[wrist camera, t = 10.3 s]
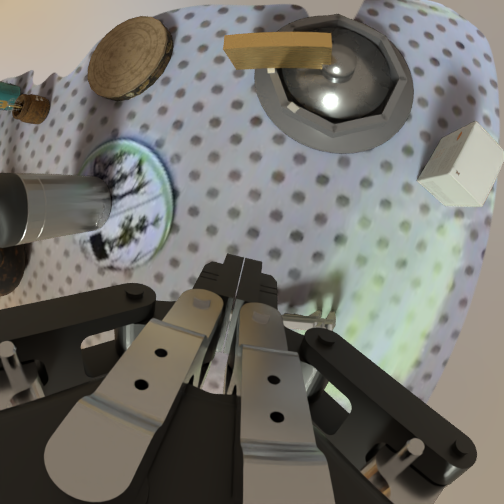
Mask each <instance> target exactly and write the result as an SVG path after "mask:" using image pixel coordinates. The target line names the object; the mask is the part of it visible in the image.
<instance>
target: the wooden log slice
mask: <svg viewBox="0 0 504 504" xmlns="http://www.w3.org/2000/svg"><path fill="white" fill-rule="evenodd" d="M172 51H173V40H172V35H171V34H170V32H169V31H168V29H167V28H166V27H165V26H164V25H163V24H162V23H161V22H160V21H159V20H157V19H155V18H153V17H146V16H140V17H136V18H132V19H129V20H127V21H125V22H123V23H121V24H119V25H117V26H116V27H115V28H114V29H112V30H111V31H110V32H109V33H108V34H106V36H105V37H104V38H103V39H102V40H101V42H100V43H99V44H98V45H97V47H96V49H95V51H94V53H93V55H92V56H91V59H90V63H89V66H88V82H89V84H90V87H91V89H92V90H93V91H94V92H95V93H96V94H97V95H100V96H102V97H104V98H107V99H110V100H114V101H122V100H129V99H131V98H133V97H135V96H137V95H140V94H141V93H143V92H144V91H145V90H147V89H148V88H149V87H150V86H152V85H153V84H154V83H155V82H156V80H157V79H158V78H159V77H160V76H161V75H162V74H163V72H164V70H165V69H166V67H167V65H168V63H169V61H170V59H171V55H172Z"/></svg>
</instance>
